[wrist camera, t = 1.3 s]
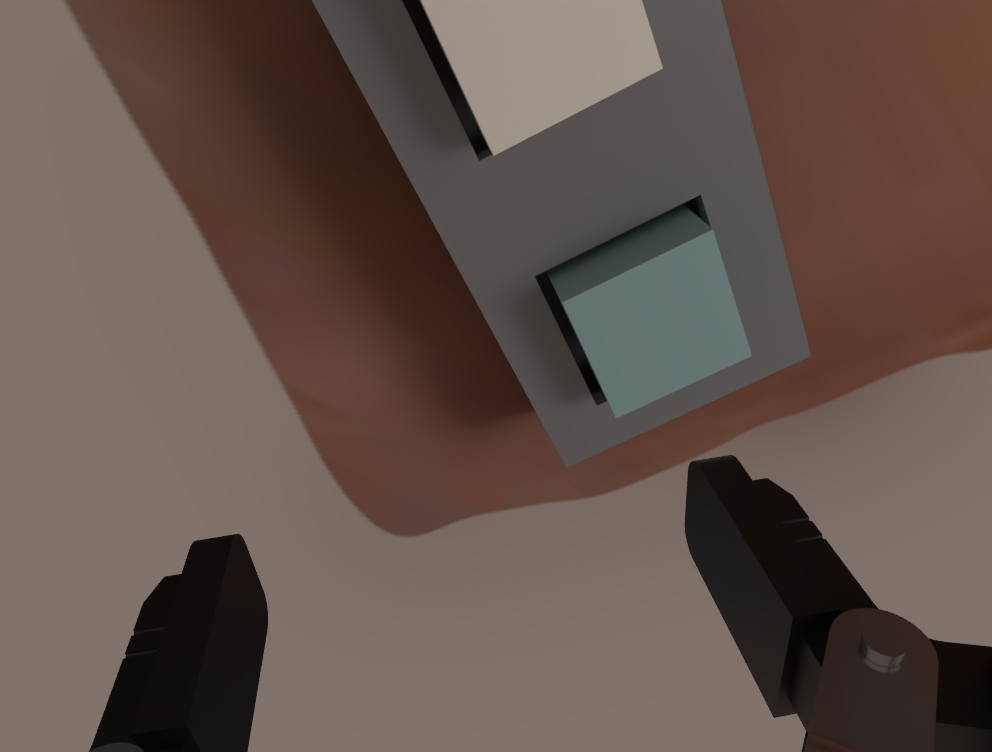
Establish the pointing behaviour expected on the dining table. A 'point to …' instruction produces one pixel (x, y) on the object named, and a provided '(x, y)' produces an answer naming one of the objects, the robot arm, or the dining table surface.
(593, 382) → the key box
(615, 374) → the teal key
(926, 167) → the dining table surface
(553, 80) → the cream key
